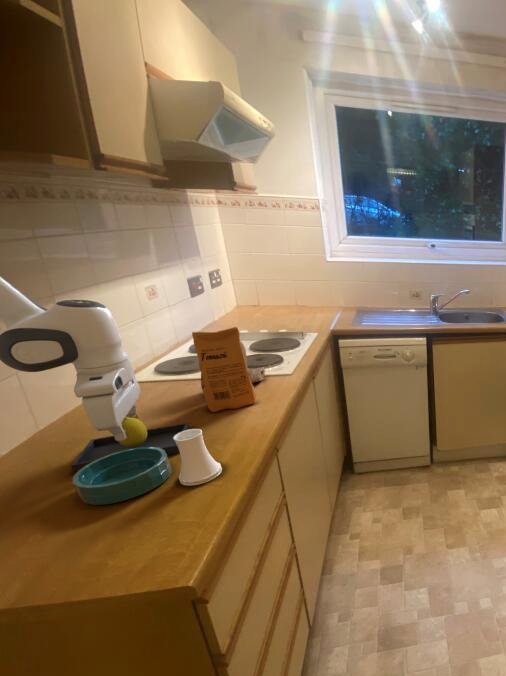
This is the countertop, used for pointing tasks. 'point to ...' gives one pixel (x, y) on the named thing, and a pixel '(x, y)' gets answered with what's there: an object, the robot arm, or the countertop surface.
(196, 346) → the coffee package
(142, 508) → the countertop surface
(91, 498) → the bowl
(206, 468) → the vase
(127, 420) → the lemon
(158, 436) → the tray
